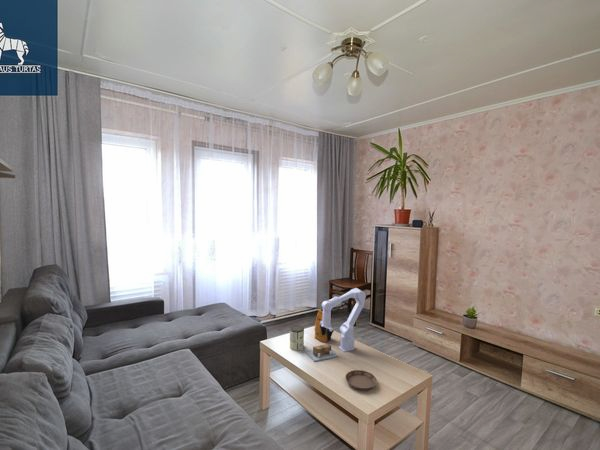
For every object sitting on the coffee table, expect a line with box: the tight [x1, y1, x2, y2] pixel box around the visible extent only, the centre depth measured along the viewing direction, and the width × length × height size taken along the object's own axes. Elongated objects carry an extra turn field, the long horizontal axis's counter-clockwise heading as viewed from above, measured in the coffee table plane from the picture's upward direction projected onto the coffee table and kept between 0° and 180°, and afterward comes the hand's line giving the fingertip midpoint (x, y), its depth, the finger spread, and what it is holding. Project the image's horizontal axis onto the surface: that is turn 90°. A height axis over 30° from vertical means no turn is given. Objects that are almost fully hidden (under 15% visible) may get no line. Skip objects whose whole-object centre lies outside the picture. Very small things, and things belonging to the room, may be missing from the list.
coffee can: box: [289, 324, 305, 351], centre depth 203 cm, size 10×10×14 cm
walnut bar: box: [312, 343, 332, 357], centre depth 192 cm, size 12×4×5 cm, turn 114°
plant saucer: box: [345, 369, 378, 392], centre depth 162 cm, size 18×18×3 cm
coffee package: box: [314, 309, 333, 343], centre depth 217 cm, size 10×12×22 cm
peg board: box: [306, 348, 339, 363], centre depth 192 cm, size 18×12×4 cm, turn 113°
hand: (326, 337), depth 197 cm, fingers open, 7 cm apart
